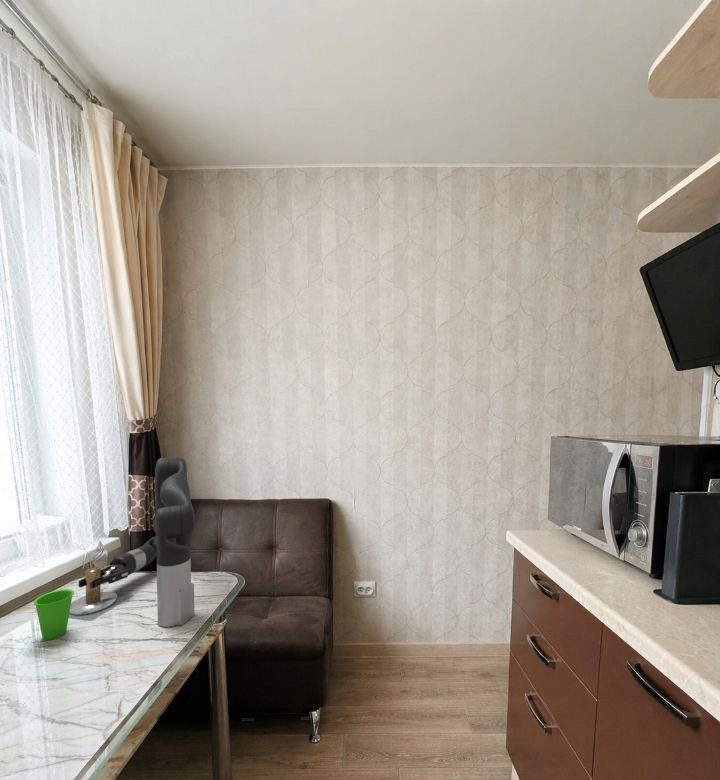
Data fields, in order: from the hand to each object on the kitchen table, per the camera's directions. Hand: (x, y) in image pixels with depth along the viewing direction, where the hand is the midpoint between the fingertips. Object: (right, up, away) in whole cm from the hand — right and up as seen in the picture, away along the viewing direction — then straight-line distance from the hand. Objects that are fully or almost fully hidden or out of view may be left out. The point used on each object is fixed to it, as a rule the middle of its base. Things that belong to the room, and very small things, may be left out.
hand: (85, 584), depth 126 cm
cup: (+1, -8, -14) cm, 16 cm away
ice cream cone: (-9, -9, +21) cm, 25 cm away
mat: (+1, -8, +2) cm, 8 cm away
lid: (+1, -8, +2) cm, 8 cm away
